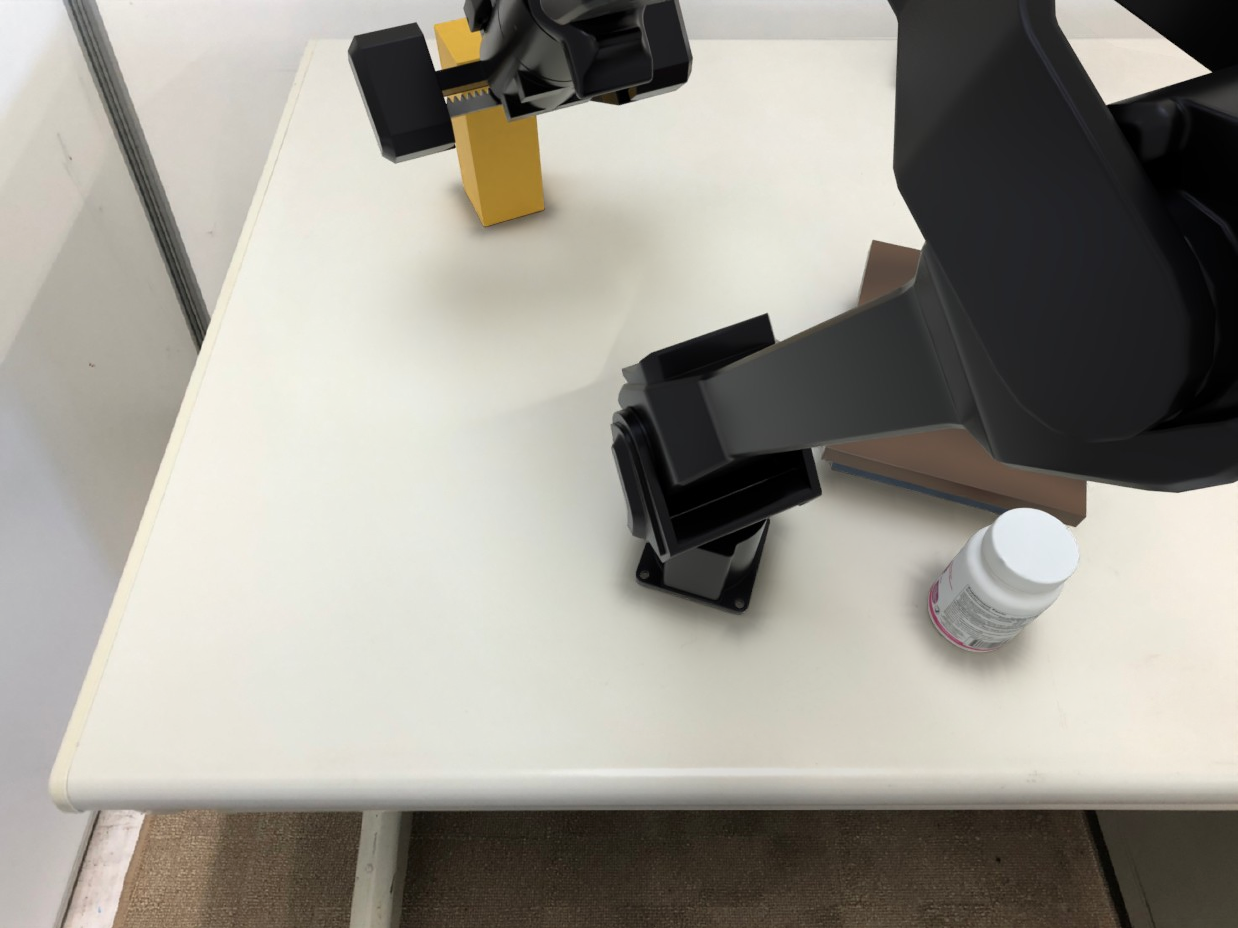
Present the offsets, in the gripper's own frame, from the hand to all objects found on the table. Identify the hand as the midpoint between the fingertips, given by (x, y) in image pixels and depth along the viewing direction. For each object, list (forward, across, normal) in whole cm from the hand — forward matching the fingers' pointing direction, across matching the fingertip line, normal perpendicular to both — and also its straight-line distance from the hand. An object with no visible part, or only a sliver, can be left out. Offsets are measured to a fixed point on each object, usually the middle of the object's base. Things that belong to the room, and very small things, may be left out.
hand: (504, 104), depth 52 cm
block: (+10, 0, +5) cm, 11 cm away
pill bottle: (-21, -12, +35) cm, 43 cm away
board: (-12, -19, +27) cm, 35 cm away
